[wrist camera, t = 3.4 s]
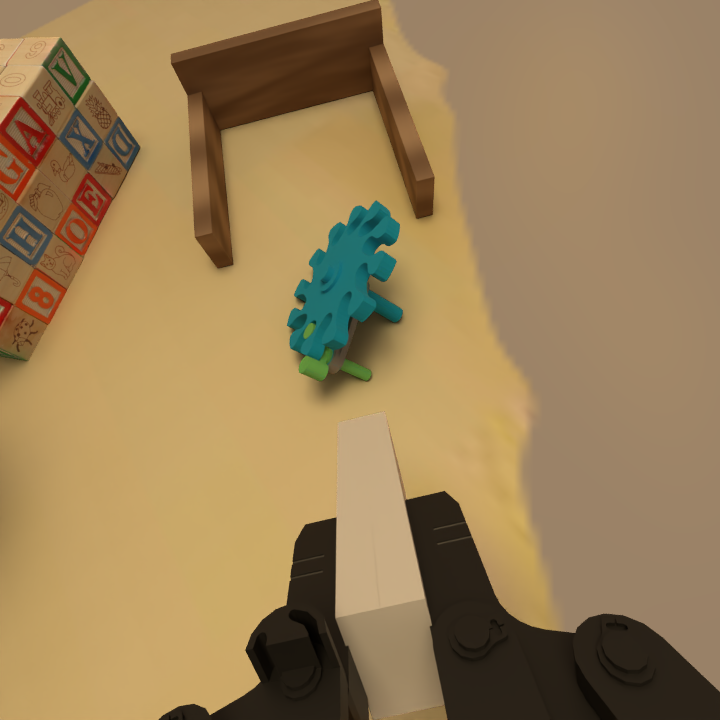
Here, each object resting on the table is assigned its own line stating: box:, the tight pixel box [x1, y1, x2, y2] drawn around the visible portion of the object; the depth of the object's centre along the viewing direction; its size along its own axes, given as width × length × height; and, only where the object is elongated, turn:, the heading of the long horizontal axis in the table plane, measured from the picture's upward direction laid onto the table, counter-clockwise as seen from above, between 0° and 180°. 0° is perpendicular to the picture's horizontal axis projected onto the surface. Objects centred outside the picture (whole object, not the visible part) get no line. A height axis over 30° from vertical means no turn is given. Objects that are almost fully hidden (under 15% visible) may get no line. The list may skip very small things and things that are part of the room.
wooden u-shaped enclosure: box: [171, 0, 434, 268], centre depth 31 cm, size 16×16×6 cm
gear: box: [287, 201, 403, 381], centre depth 26 cm, size 11×6×10 cm
